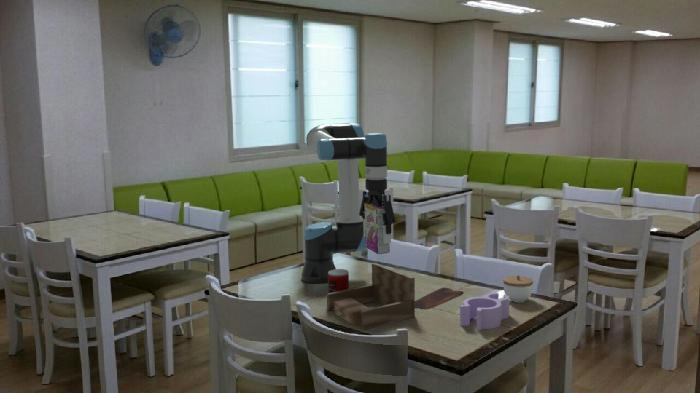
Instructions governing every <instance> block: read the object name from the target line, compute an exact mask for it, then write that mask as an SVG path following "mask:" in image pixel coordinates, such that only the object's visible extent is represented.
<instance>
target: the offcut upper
mask: <svg viewBox="0 0 700 393" xmlns="http://www.w3.org/2000/svg"><path fill="white" fill-rule="evenodd" d="M334 309H336V310H338V311H339V312H341V313H342V314H344V315H346V316H347V317H349V318H351V319H352V320H355V319H359V318H361V311H363V310H367V309H371V308H370V307H368V306H367V305H365V304H364V303H359V302H357V301H355V300H354V299H352V298H350V299H345V300H340V301H335V302H334Z"/></svg>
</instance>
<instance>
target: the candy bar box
mask: <svg viewBox="0 0 700 393" xmlns="http://www.w3.org/2000/svg"><path fill="white" fill-rule="evenodd" d="M364 204H365V244H366V248H365V249H368V250H370V251H372V252H373V253H375V254H377V255H382V254H389V253H390V250H391V249H390V244H391V243H386V244H384V243H383V224H384V221H383V213H385V209H384V206H382V207H377V206H376V205H373V204H367V203H364ZM385 214H386V213H385Z"/></svg>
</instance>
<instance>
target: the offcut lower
mask: <svg viewBox="0 0 700 393" xmlns="http://www.w3.org/2000/svg"><path fill="white" fill-rule="evenodd" d="M334 314H335V315H337V316H338V315H339V316H338V317H340V318H341V317H342V319H343V320H345V321H346V322H348V323H349V324H351V325H353V326H358V325H361V318H359V319H355V320H352V319H351V318H349V317H347V316H346V315H344V314H342V313H341V312H339V311H338V310H336V309H335V310H334Z"/></svg>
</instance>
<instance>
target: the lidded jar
mask: <svg viewBox="0 0 700 393" xmlns="http://www.w3.org/2000/svg"><path fill="white" fill-rule="evenodd" d="M502 282H503V292H504V294H505V295H508V296H509V299H510V300H511V302H512V301H514V302H513V303H525V302H527V300H528V299H529V298H530V297H531V295H532V294H533V293H532V292H533V287H534V280H533V279H532V278H531V277H527V276H524V275H519V274H517V275H508V276H506V277H504V278H503V281H502ZM510 300H509V301H510ZM524 301H525V302H524Z"/></svg>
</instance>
